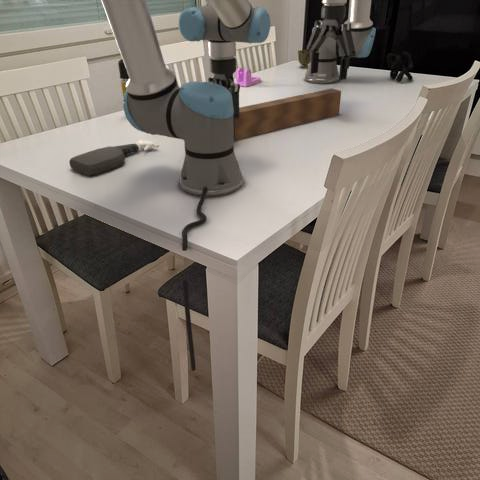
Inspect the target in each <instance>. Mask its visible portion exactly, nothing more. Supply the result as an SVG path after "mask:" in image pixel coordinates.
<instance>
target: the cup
mask: <svg viewBox="0 0 480 480" xmlns="http://www.w3.org/2000/svg"><path fill="white" fill-rule="evenodd" d="M310 54H311V52H310V51H309V50H307V49H300V50H297V57H298V63H299V64H300V67H301V68H302V69H308V66H309V64H310Z"/></svg>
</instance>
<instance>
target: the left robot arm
mask: <svg viewBox="0 0 480 480" xmlns="http://www.w3.org/2000/svg"><path fill="white" fill-rule="evenodd" d="M100 1H101V3H102V6H103V9H104V12H105V15H106V17H107V20H108V23H109V25H110V28H111V31H112V34H113V37H114V39H115V43H116V46H117V48H118V50H119V53H120V57H121V59H123V62H124V64H125V67H126V70H127V73H128V76H129V80H128V82H127V84H126V92H125V94H124V97H123V100H125V102H123V104H122V108H123V112H124V115H125V118H126V120H127V122H128V123H129V124H130V126H132V127H133V128H134V129H135V130H137V131H140V132H143V133H146V134H149V135H152V136H153V135H154V136H156V135H157V136H163V137H168V138H173V139H178V140H183V143H184V154H185V155H184V158H183V164H182V168H181V171H180V177H179V178H180V179H179V183H180V184H179V185H180V188H181V189H182V191H184V192H186V193H187V194H190V195H194V196H199V197H200V198H199V201H198V203H197V206H196V215H198V216H199V217H200V219H198V220H195V221H192V222H190V223H188V224H186V225H185V226H184V227H183V229H182V231H181V237H182V242H181V250H182V252H187V250H188V245H189V244H188V243H189V242H188V239H189V238H188V231H190V230H191V229H192V228H195V227H198V226H201V225H203V224H204V223H205V222H206V221H207V215H206V214H205V213H203V212H202V207H203V204H204V202H205V199H206V197H221V196H224V195H229V194H232V193H234V192H235V191H237V190H239V189H240V188H241V187H242V185H243V174H242V171H241V168H240V165H239V161H238V159H237V157H236V154H235V141H236V140H235V119H238V118H239V108H240V90H241V86H240V84H236V82H235V78H234V74H235V73H236V70H237V58H236V56H237V43H244V44H250V45H251V44H262V43H264V42H265V41H266V40H267V39H268V37H269V35H270V30H271V17H270V12H269V11H268V10H267V9H265V8H262V7H259V6H255V7H253V6H252V4H251V2H250V1H249V0H205V3H206V4H205V5H200V6H191V7H189V8H188V7H187V8H185V9H184V10H182V11H181V13H180V14H179V16H178V21H177V23H178V30H179V33H180V35H181V36H182V37H183V39H185V40H186V41H189V42H201V41H208V56H209V57H210V58H209V72H210V73H211V74H213V76H211V77H208V79H207V80H208V81H199V80H198V81H197V80H196V81H188V82H185V83H183V84H182V85H181V86H179V84H178V81H177V77H176V74H175V72H174V71H173V70H171V69H169V68H168V67H167V66H166V63H165V60H164V56H163V53H162V50H161V46H160V42H159V39H158V36H157V32H156V29H155V26H154V22H153V19H152V16H151V15H152V14H151V12H150V10H149V5H148V2H147V0H100ZM234 140H235V141H234ZM182 289H183V302H184V303H183V304H184V314H185V323H186V324H185V325H186V333H187V341H188V343H187V344H188V350H189V360H190V369H191V371H196V368H197V367H196V366H197V365H196V358H195V347H194V337H193V329H192V328H193V327H192V320H191V319H192V318H191V307H190V296H189V282H188V281H187V280H184V279H182Z"/></svg>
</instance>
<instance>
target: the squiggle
mask: <svg viewBox="0 0 480 480" xmlns="http://www.w3.org/2000/svg"><path fill="white" fill-rule="evenodd" d="M401 57H402V59H401ZM391 59H392V60H391ZM393 60H394V61H393ZM385 61H386V64H387V67H390V68H391V70H390V72H389V78H390V79H391V80H395V79H396V81H397V82H399V83H400V82H402V81H403V79H404V76H406V78H407V80H408V81H412V80H413V79H414V77H413V75H412V74H411V73H410V72H409V71H410V70H412V69H413V68H414V64H413V61H412V57H411V54H410V53H409V52H408V51H403V53H402V54H401V55H396V54H394V53H392V52H390V53H387V55H386V57H385ZM406 62H407V65H408V66H407V67H405V66H404V65H405V64H406ZM400 70H401V71H400Z"/></svg>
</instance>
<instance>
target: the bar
mask: <svg viewBox="0 0 480 480" xmlns="http://www.w3.org/2000/svg"><path fill="white" fill-rule="evenodd" d="M341 98H342V90H339V89H335V88H327V89H323V90H318V91H313V92H308V93H304V94H303V93H302V94H298V95H293V96H289V97H284V98H280V99H279V98H278V99H274V100H269V101H264V102H260V103H255V104H254V103H253V104H251V105H245V106H239V118H238V119H235V140H234V142H235V141H239V140H242V139H247V138H251V137H256V136H259V135H263V134H267V133H272V132H276V131H280V130H284V129H287V128H292V127H295V126H300V125H304V124H308V123H312V122H316V121H321V120H324V119H328V118H332V117H337V116H339V115H340V109H341V108H340V107H341Z"/></svg>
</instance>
